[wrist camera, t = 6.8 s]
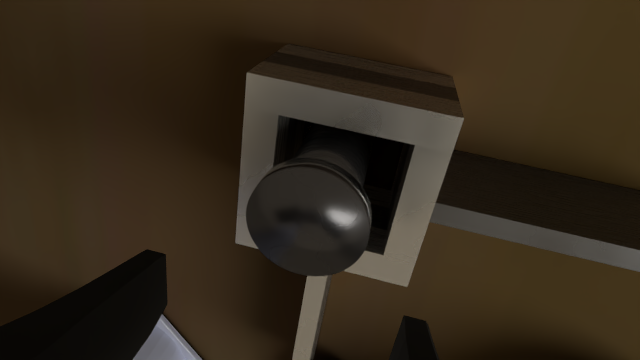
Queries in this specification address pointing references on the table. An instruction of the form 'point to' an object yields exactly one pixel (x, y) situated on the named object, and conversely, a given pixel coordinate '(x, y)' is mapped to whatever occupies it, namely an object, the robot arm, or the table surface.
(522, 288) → the table surface
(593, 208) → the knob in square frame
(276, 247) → the round dark gray knob
